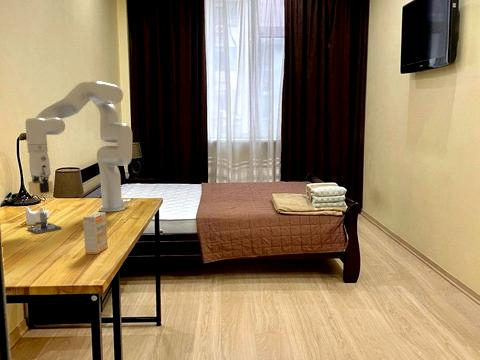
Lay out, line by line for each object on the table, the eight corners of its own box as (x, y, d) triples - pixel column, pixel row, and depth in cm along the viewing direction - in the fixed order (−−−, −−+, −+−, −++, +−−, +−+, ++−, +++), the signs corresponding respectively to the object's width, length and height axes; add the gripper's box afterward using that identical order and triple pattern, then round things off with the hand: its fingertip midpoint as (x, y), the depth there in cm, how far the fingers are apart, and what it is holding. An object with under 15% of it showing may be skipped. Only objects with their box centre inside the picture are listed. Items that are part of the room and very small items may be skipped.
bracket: (43, 224, 213) (42, 207, 212) (26, 225, 212) (25, 208, 211) (49, 217, 226) (48, 201, 225) (33, 218, 225) (32, 202, 224)
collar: (45, 191, 205) (44, 179, 204) (53, 193, 200) (52, 181, 199) (29, 193, 200) (28, 181, 199) (36, 195, 195) (35, 183, 194)
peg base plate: (51, 225, 209) (49, 209, 208) (61, 229, 202) (60, 212, 201) (27, 229, 202) (26, 213, 201) (37, 233, 195) (35, 216, 194)
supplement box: (98, 254, 165) (95, 217, 163) (84, 254, 166) (82, 216, 164) (108, 247, 173) (106, 211, 171) (96, 247, 174) (93, 211, 172)
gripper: (55, 148, 194) (59, 192, 196) (38, 147, 206) (41, 188, 209) (37, 150, 189) (40, 195, 191) (19, 148, 201) (23, 190, 203)
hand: (41, 191), depth 200 cm, fingers closed on collar, 7 cm apart
